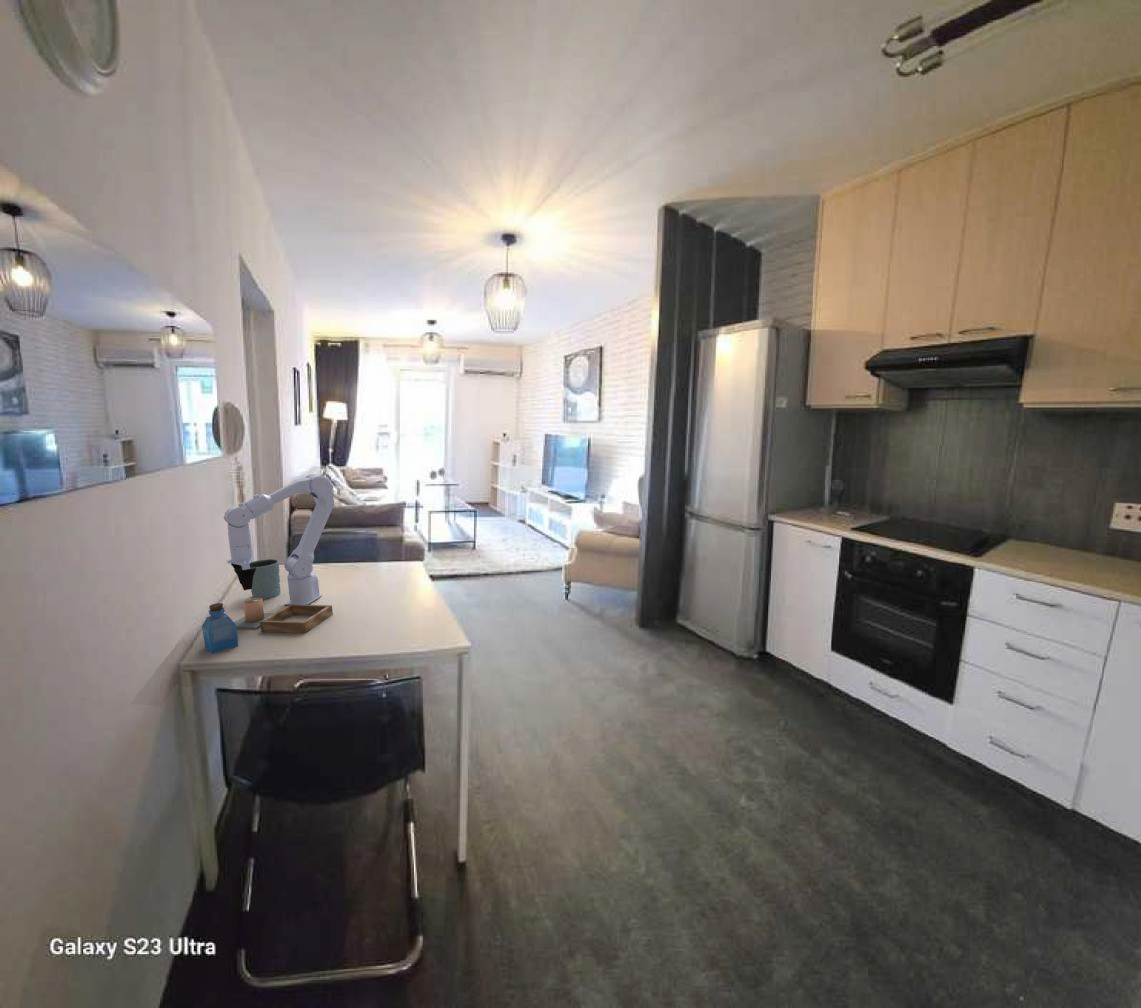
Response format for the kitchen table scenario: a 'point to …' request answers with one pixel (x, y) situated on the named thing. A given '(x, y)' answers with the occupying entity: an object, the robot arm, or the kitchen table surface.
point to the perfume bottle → (219, 630)
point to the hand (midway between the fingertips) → (246, 586)
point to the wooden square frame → (277, 625)
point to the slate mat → (250, 625)
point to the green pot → (266, 579)
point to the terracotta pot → (253, 609)
